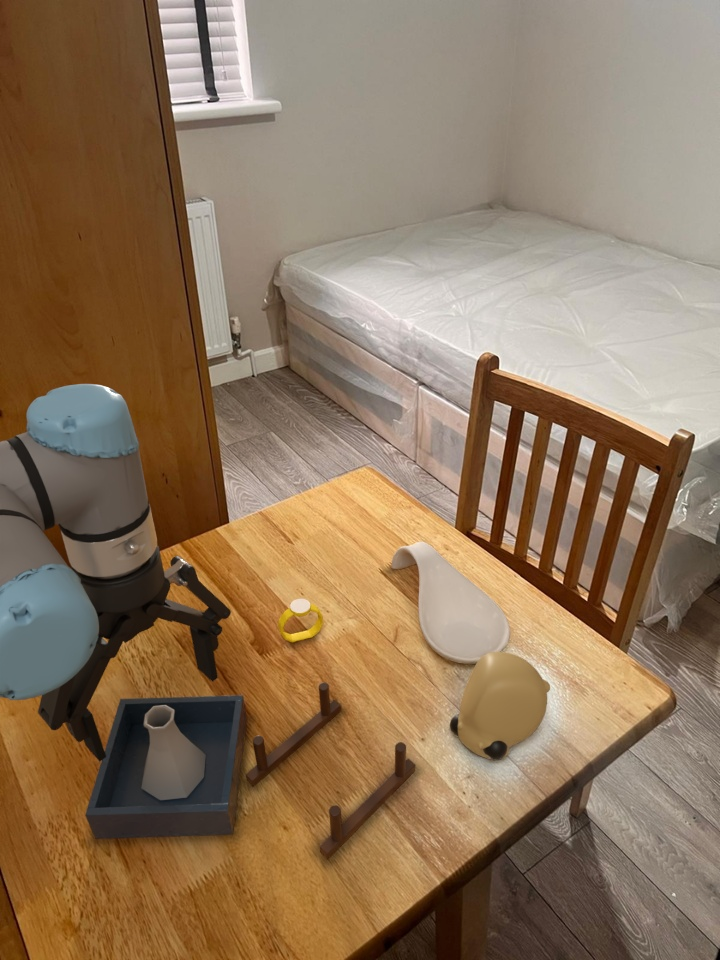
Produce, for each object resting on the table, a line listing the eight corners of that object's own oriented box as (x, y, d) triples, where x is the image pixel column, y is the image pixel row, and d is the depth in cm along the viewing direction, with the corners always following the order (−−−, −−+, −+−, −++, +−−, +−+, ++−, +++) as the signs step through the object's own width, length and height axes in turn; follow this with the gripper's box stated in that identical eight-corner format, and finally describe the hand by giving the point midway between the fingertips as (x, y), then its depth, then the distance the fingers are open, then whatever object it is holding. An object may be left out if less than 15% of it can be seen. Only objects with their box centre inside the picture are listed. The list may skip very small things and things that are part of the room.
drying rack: (327, 860, 75) (324, 828, 72) (246, 780, 83) (240, 748, 79) (415, 770, 83) (416, 738, 80) (334, 705, 91) (332, 673, 87)
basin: (232, 834, 77) (227, 810, 75) (95, 839, 77) (84, 815, 75) (247, 719, 89) (243, 694, 87) (128, 723, 89) (120, 698, 87)
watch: (283, 650, 98) (280, 619, 95) (278, 636, 100) (274, 605, 97) (325, 637, 100) (323, 606, 97) (319, 624, 102) (317, 593, 99)
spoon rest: (524, 659, 96) (531, 620, 92) (447, 690, 92) (450, 651, 88) (435, 553, 114) (437, 517, 110) (367, 576, 110) (367, 539, 106)
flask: (158, 740, 87) (142, 684, 81) (216, 751, 85) (204, 695, 79) (130, 795, 81) (111, 739, 75) (191, 808, 79) (176, 752, 74)
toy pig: (463, 723, 92) (420, 723, 84) (508, 640, 92) (468, 632, 84) (526, 773, 86) (486, 778, 78) (575, 684, 86) (539, 680, 77)
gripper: (-7, 654, 55) (60, 814, 67) (252, 510, 70) (269, 662, 82) (-47, 605, 59) (23, 764, 71) (205, 479, 74) (227, 628, 86)
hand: (154, 710), depth 76 cm, fingers open, 13 cm apart
